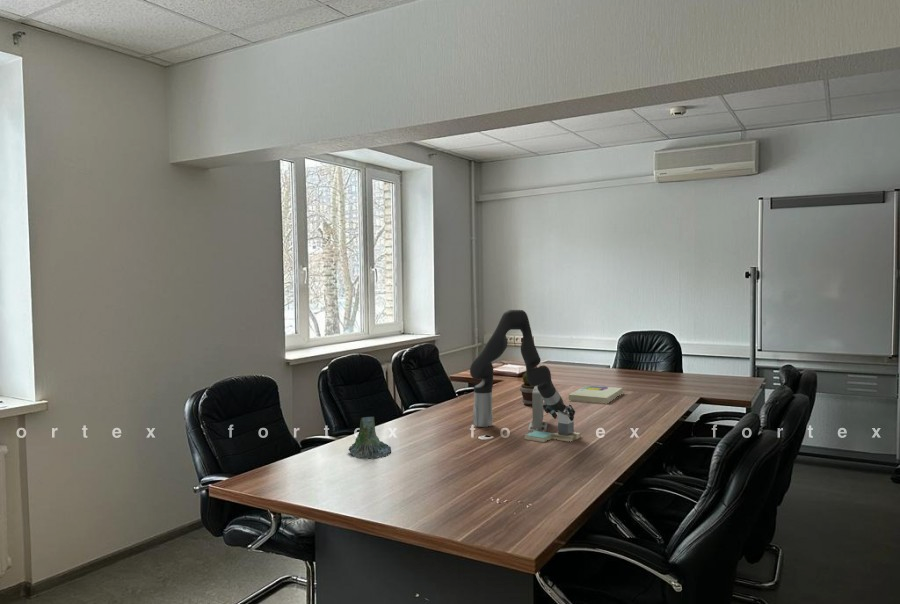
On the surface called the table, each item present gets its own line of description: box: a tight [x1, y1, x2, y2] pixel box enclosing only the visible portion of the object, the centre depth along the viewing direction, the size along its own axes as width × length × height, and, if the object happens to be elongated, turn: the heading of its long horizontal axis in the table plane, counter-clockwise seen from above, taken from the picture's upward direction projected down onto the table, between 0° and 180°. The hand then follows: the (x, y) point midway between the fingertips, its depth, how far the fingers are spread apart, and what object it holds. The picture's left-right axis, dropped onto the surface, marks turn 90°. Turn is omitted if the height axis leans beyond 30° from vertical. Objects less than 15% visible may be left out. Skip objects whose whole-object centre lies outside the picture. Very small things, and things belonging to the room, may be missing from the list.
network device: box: [527, 385, 548, 432], centre depth 320 cm, size 26×9×20 cm, turn 168°
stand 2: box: [550, 431, 582, 443], centre depth 298 cm, size 10×10×2 cm
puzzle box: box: [568, 385, 624, 405], centre depth 394 cm, size 36×5×24 cm
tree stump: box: [348, 416, 392, 459], centre depth 281 cm, size 18×20×18 cm
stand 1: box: [524, 431, 555, 443], centre depth 298 cm, size 10×10×2 cm
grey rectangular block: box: [557, 409, 575, 436], centre depth 298 cm, size 6×5×11 cm
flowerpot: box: [519, 371, 535, 407], centre depth 376 cm, size 14×15×20 cm
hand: (564, 418), depth 296 cm, fingers open, 8 cm apart
